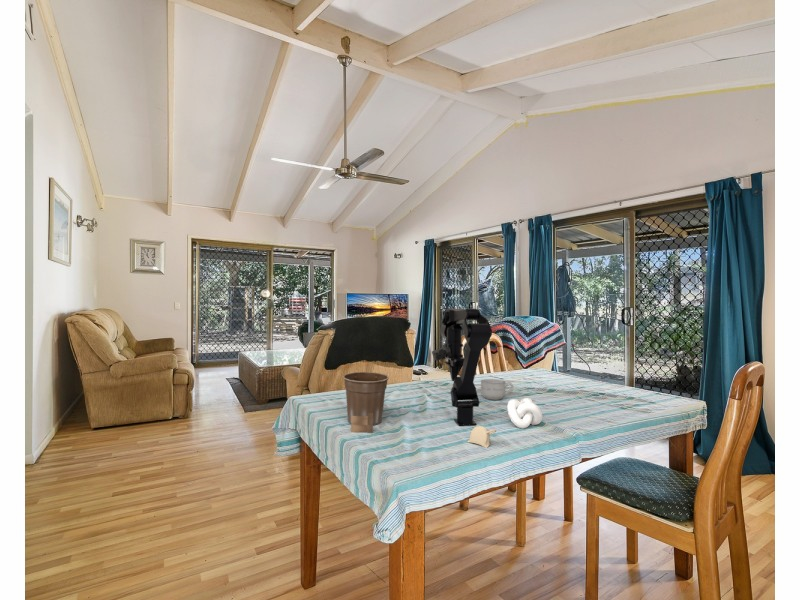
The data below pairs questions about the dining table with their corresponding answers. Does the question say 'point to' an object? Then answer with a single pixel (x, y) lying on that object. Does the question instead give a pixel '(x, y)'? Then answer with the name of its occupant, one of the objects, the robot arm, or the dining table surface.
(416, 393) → the dining table surface
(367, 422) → the wooden block
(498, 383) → the teacup
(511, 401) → the white knot sculpture
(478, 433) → the decorative ornament
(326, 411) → the dining table surface
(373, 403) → the plant pot
